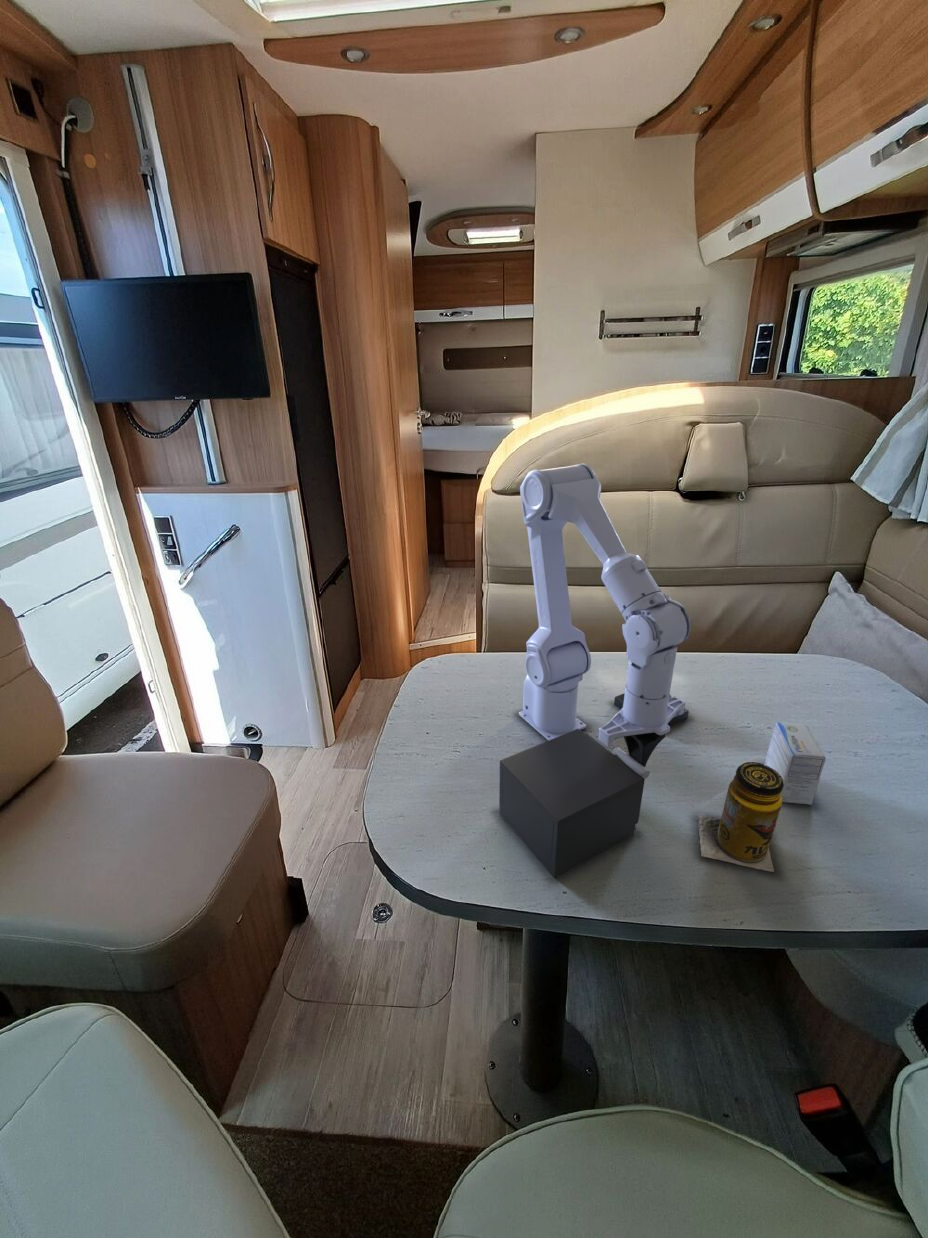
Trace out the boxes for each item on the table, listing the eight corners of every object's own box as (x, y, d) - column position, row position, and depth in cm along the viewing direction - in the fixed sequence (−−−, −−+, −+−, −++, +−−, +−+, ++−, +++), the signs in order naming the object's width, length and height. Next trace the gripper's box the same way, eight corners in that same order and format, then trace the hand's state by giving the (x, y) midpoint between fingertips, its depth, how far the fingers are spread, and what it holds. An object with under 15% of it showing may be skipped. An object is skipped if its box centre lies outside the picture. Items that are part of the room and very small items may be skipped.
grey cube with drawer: (573, 779, 85) (578, 728, 81) (634, 834, 75) (642, 779, 71) (499, 813, 79) (499, 760, 75) (554, 878, 69) (558, 821, 65)
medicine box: (811, 806, 79) (828, 758, 75) (777, 802, 80) (792, 754, 76) (794, 769, 86) (808, 723, 82) (762, 766, 87) (775, 720, 83)
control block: (613, 704, 103) (615, 688, 101) (645, 691, 106) (647, 676, 105) (655, 733, 95) (657, 716, 93) (687, 718, 98) (690, 702, 97)
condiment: (773, 873, 69) (797, 800, 64) (701, 857, 72) (717, 785, 66) (764, 829, 75) (784, 759, 70) (697, 816, 78) (712, 747, 73)
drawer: (603, 764, 87) (608, 723, 83) (660, 811, 78) (667, 767, 74) (515, 805, 79) (516, 762, 76) (566, 862, 70) (569, 816, 67)
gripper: (629, 719, 69) (618, 802, 75) (708, 686, 75) (693, 765, 81) (591, 692, 74) (583, 772, 80) (667, 663, 80) (655, 739, 86)
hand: (636, 766), depth 81 cm, fingers closed
